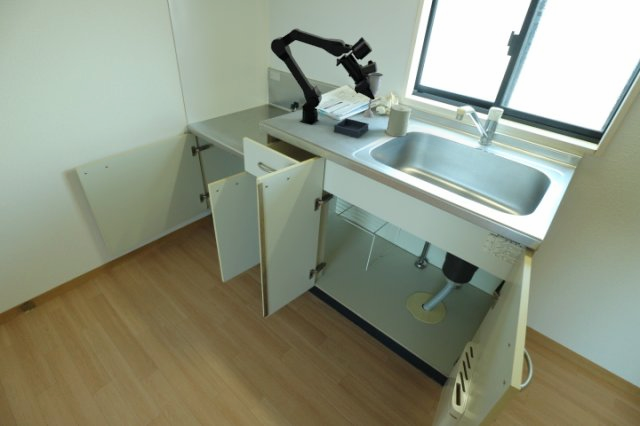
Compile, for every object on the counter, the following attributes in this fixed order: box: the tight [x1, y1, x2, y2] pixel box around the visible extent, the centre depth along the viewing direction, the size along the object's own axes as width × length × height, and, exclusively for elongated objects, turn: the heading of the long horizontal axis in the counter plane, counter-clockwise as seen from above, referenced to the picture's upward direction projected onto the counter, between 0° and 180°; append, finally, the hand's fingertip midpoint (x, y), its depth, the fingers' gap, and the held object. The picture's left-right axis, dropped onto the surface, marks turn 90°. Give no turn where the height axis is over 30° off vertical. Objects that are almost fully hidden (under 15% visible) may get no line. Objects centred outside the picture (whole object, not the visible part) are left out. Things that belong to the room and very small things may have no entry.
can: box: [385, 104, 412, 138], centre depth 145 cm, size 9×9×12 cm
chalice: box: [362, 72, 384, 119], centre depth 143 cm, size 7×7×18 cm
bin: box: [333, 117, 370, 139], centre depth 147 cm, size 12×12×3 cm
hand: (374, 97), depth 144 cm, fingers closed on chalice, 6 cm apart
